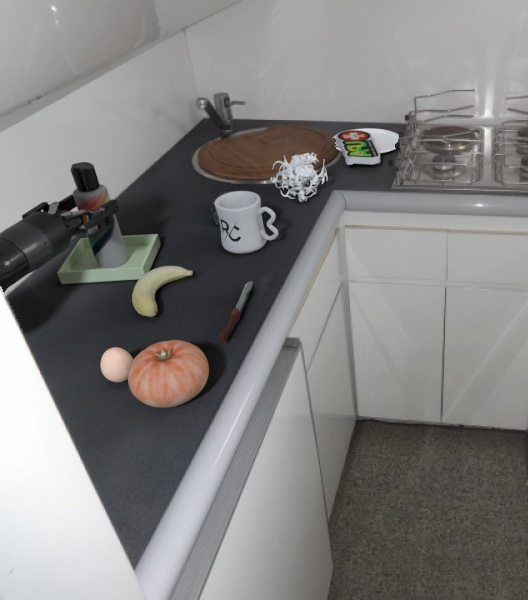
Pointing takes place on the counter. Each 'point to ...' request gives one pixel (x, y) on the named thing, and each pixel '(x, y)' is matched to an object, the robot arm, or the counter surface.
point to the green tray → (86, 269)
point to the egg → (116, 364)
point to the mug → (243, 222)
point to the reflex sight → (216, 210)
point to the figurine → (299, 175)
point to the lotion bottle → (93, 196)
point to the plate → (380, 139)
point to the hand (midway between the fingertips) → (96, 201)
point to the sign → (358, 147)
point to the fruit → (154, 287)
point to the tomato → (168, 373)
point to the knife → (236, 313)
